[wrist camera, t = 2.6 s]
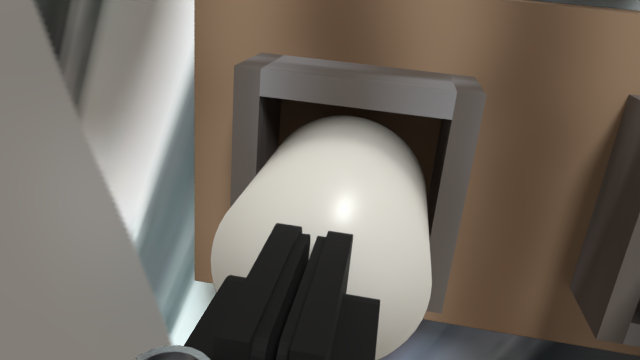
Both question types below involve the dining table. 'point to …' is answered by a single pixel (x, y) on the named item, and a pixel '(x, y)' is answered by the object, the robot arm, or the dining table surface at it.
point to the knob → (342, 215)
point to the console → (454, 141)
